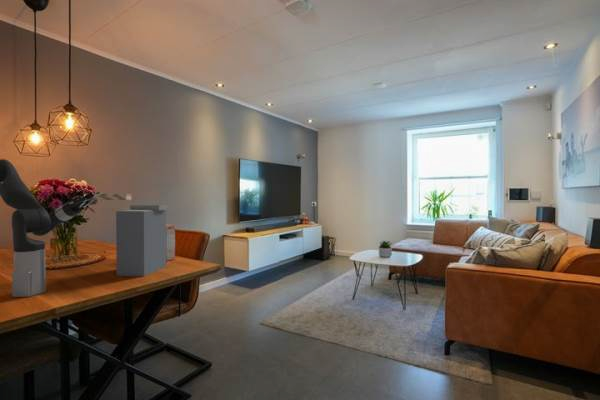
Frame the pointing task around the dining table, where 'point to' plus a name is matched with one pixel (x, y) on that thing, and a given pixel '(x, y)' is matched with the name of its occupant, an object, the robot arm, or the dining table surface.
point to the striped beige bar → (111, 197)
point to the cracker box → (170, 242)
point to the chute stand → (141, 240)
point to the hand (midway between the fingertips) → (96, 193)
